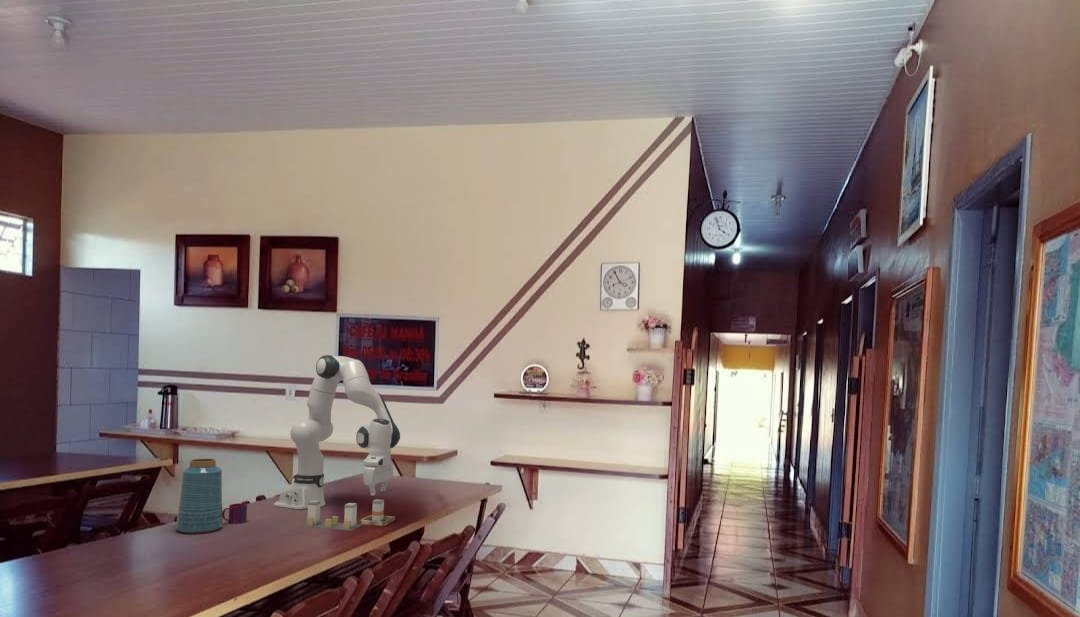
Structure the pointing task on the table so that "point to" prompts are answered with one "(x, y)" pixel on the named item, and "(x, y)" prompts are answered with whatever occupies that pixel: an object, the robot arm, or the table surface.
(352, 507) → the fuse right
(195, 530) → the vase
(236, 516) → the mug
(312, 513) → the block
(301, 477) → the robot arm
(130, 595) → the table surface
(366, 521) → the tray
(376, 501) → the fuse marked
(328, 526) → the fuse board
